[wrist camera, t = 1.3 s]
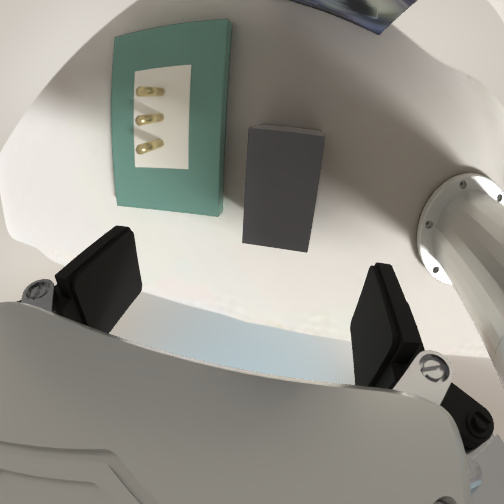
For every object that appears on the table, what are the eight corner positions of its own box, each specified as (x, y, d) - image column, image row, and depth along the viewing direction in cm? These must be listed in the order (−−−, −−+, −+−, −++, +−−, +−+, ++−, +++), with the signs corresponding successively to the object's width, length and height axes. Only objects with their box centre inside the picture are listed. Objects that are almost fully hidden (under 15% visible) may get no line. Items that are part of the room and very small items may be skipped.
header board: (232, 23, 19) (227, 18, 17) (222, 211, 28) (217, 217, 27) (123, 39, 20) (114, 37, 19) (124, 201, 30) (116, 206, 28)
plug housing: (320, 130, 23) (324, 136, 17) (308, 222, 27) (307, 252, 22) (262, 123, 23) (248, 127, 18) (255, 215, 28) (242, 242, 23)
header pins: (164, 86, 21) (144, 85, 18) (163, 148, 24) (144, 154, 21) (156, 87, 21) (135, 87, 18) (155, 147, 24) (135, 154, 21)
